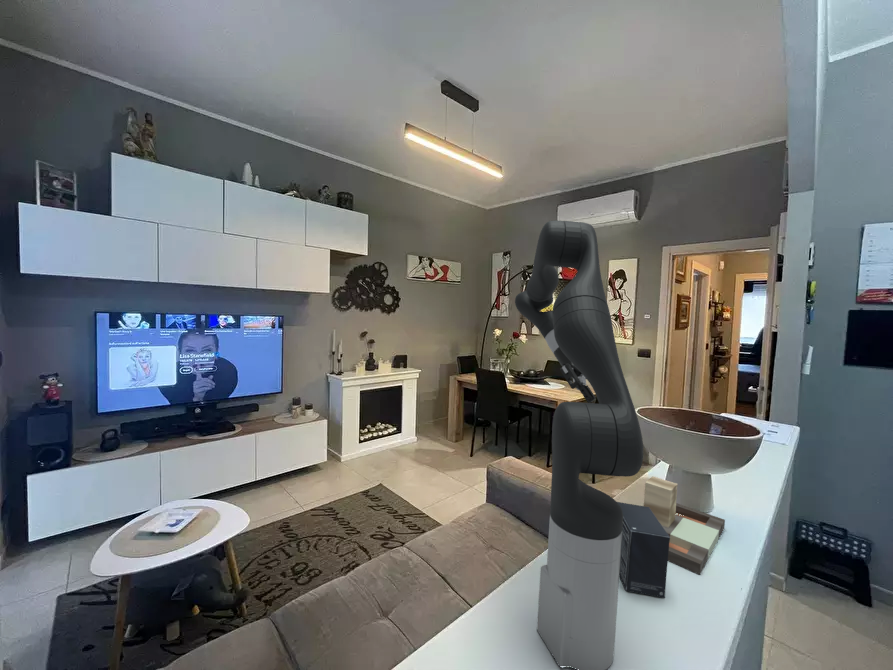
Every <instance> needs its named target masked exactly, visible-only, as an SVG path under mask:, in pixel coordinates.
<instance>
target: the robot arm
mask: <svg viewBox="0 0 893 670" xmlns="http://www.w3.org/2000/svg"><path fill="white" fill-rule="evenodd" d="M598 245H599V243H598V238H597V233H596V229H595V228H594V226H593V225H591V224H590V223H588V222H584V221H582V222H581V221H571V220H570V221H569V220H556V219H555V220H549V221H547V222H545V224H544V225H543V226H542V228H541V230H540V233H539V235H538V240H537V245H536V249H535V254H534V259H533V265H532V272H531V275H530V277H529V280H528V282H527V284H526V285H527V286H526V289H525V290H524V291H521V292H519V293H518V294H517V295H516V296H515V298H514V304H515V307H516V309H517V311H518V312H519V313H520V314H521V316H523V317H524V318H526V319H527V320H528V321H529V322H531V324H533V326H535V327H536V329H537V330H538V331H539V332H540V335H542V337H543V339H544V340H545V342H546V344H547V346H548V348H549V350H551V352H552V354H553V355H554V357H555V359H556V360H557V361H558V363H559V364H560V366H561V367H560V369H559V370H560V372H561V374H562V376H563V377H564V379H565V380H566V382H567V384H568V385H569V387H570V388H571V389H572V390H574V389H576V390H577V391H579V392H580V393H581V394H582V397H584V399H585V401H586V402H579V401H577V402H576V401H563V402H560V403H559V404H558V405H557V407H556V409H555V410H554V412H553V413H554V414H553V417H552V425H551V426H552V427H551V431H552V432H551V454H552V456H551V459H552V460H551V461H552V463H551V487H550V489H551V490H550V509H549V522H548V523H549V526H548V537H547V539H548V542H547V555H546V556H547V558H546V559H547V561H546V564H542V565H541V566H540V571H539V575H540V576H539V590H538V606H537V607H538V609H537V625H536V630H537V633H538V634H539V635H540V637H541V639H542V641H543V642H544V644H545V645H546V647H547V649H548V650H549V652H550V654H551V653H552V654H553V655H552V654H551V655H552V657H553V656H554V657H553V659H554V658H555V659H556V660H555V659H554V660H555V662H556V661H557V662H558V664H559V665H560V666H571V667H573V668H576V669H579V670H607V669H609V668H610V666H611V665H612V664H613V661H614V657H615V644H616V632H617V631H616V629H617V615H618V614H617V613H618V601H619V600H618V599H619V586H620V585H619V583H620V576H619V572H620V557H621V543H622V528H623V512H622V509H621V507H620V505H619V504H618V503H617V502H618V501H617V500H616V499H614V498H613V497H611V496H610V495H608V494H607V493H606V492H604V491H602V490H599V489H597V488H595V487H593V486H591V485H589V484H587V483H585V482H584V481H583V480H581V479H580V474H588V475H589V474H590V475H598V476H599V475H601V476H610V477H632V476H636V475H637V474H638V473H639V472H640V471H641V468H642V467H643V466H642V465H643V461H644V442H643V435H642V431H641V426H640V421H639V419H638V415H637V412H636V408H635V406H634V402H633V399H632V396H631V394H630V391H629V388H628V384H627V381H626V379H625V375H624V373H623V370H622V364H621V362H620V357H619V353H618V348H617V343H616V337H615V334H614V333H615V332H614V327H613V322H612V316H611V312H610V308H609V304H608V301H607V297H606V293H605V289H604V285H603V280H602V276H601V275H602V274H601V268H600V266H601V265H600V256H599V255H600V254H599V246H598ZM556 267H557V268H567V269H569V268H571V269H575V270H576V272H577V273H575V275H574V277H573V278H572V279H571V280H570V281H569V282H568V283H567V284H566V285H565V286H564V288H563V289H562V290H561V291H560V292H559V294H558V295H557V296H556V299H555V301H554V292H555V291H556V289H557V287H558V285H559V281H560V279H559V277H560V276H559V274H558V271H557V269H556ZM552 304H553V305H552ZM551 305H552V309H551V310H547V311H542V310H544V309H547V308H548V307H550V306H551ZM587 381H588V383H589V385H590V386H591V388H592V389H591V388H590V386H589V385H587ZM592 390H593V391H592ZM594 393H595V394H594ZM596 399H597V401H598V403H597V402H596V403H593V402H594V401H596ZM557 662H556V663H557ZM558 664H557V665H558ZM559 665H558V666H559Z"/></svg>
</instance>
